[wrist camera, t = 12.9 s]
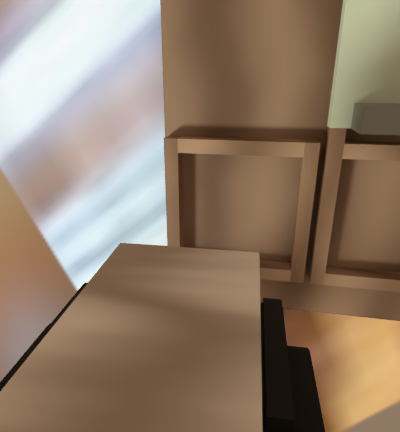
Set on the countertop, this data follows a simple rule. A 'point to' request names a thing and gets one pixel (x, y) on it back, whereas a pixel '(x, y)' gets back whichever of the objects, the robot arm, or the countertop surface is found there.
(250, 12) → the board
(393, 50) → the lid
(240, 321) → the block
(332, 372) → the countertop surface
